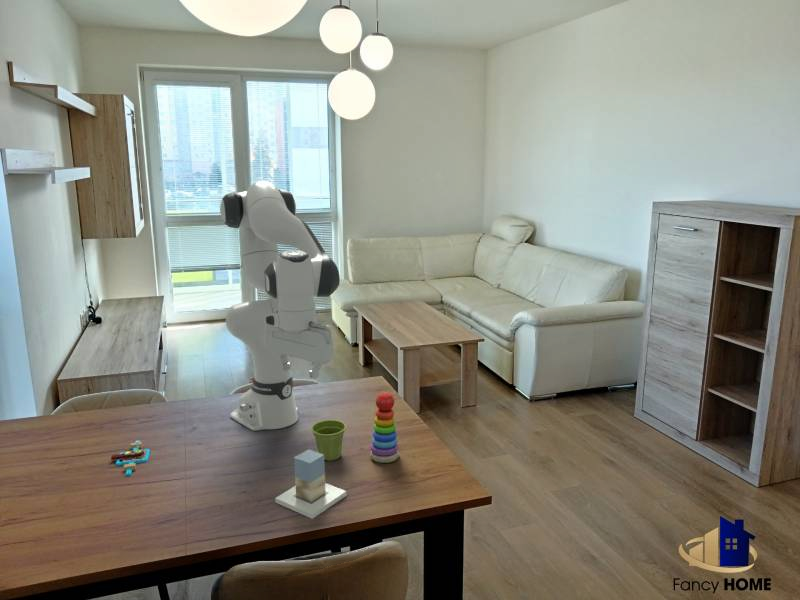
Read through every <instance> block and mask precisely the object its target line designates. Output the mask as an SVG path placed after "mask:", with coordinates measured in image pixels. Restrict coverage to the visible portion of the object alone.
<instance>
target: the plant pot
mask: <svg viewBox="0 0 800 600" xmlns="http://www.w3.org/2000/svg"><path fill="white" fill-rule="evenodd" d="M346 429H347V425H346V423H344V422H343V421H341V420H338V419H337V420H336V419H326V420H322V421H321V420H320V421H318V422H315V423H314V424H313V425H312V426H311V431H312V433H313V436H314V437H315V443H316V448H317V453H320V454H323V455H324V461H335V460H337V459H339V458H340V457H341V456H342V451H343V449H342V448H343V439H344V434H345V431H346Z"/></svg>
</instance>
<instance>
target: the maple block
mask: <svg viewBox="0 0 800 600" xmlns="http://www.w3.org/2000/svg"><path fill="white" fill-rule="evenodd" d="M294 479H295V480H294V482H295V483H294V484H295V486H296V496H298V497H301V498H303V499H305V500H308V501H310V502H312V501H314V500H315V499H317V498H318V497H320V496H321V495H323V494H324V493H326V491H325V483H326V473H325V474H324V475H322V476H321V477H319V478H317V479H316V480H314V481H313V482H311V483H310V482H307V481H305V480H302V479H300V478H297V477H295V476H294Z"/></svg>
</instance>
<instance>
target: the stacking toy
mask: <svg viewBox="0 0 800 600" xmlns="http://www.w3.org/2000/svg"><path fill="white" fill-rule="evenodd" d="M375 405H376V408H377V410H376V411H375V418H374V423H375V424H374V425H373V433H372V436H373V437H372V440H371V445H370V453H369V457H370V458H371V460H373V461H374V462H376V463H381V464H388V463H389V464H390V463H392V462H394V461H396V460H398V458H399V456H400V452H399V450H398V449H399V446H398V437H397V431H396V429H397V426H396V423H395V422H396V419H395V417H394V416H395V411H394V409H393V408H394V405H395V397H394V396H393V395H392V394H391V393H389V392H387V391H385V392H380V393H378V395H377V396H376V398H375Z"/></svg>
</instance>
